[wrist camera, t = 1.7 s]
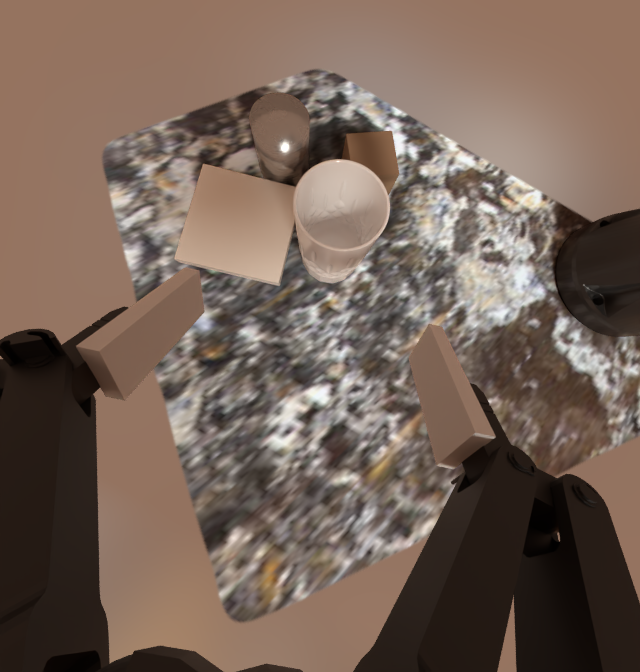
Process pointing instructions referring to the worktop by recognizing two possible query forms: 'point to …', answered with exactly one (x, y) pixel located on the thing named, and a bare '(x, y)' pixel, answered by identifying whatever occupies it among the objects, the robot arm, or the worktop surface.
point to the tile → (238, 225)
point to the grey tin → (281, 137)
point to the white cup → (338, 217)
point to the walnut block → (374, 154)
